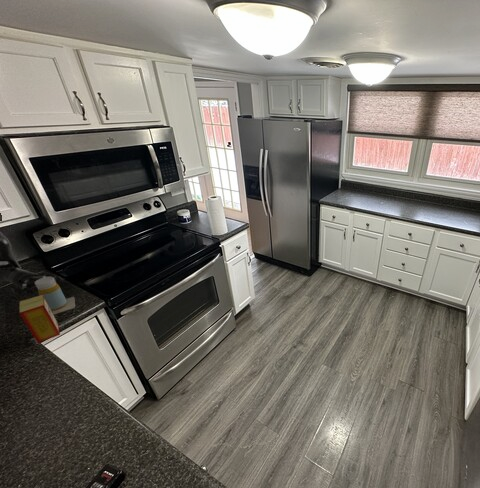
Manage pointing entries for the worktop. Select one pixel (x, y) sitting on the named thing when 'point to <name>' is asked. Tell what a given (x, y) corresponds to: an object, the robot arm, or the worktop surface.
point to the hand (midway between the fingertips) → (43, 286)
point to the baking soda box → (39, 318)
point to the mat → (68, 306)
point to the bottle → (51, 293)
